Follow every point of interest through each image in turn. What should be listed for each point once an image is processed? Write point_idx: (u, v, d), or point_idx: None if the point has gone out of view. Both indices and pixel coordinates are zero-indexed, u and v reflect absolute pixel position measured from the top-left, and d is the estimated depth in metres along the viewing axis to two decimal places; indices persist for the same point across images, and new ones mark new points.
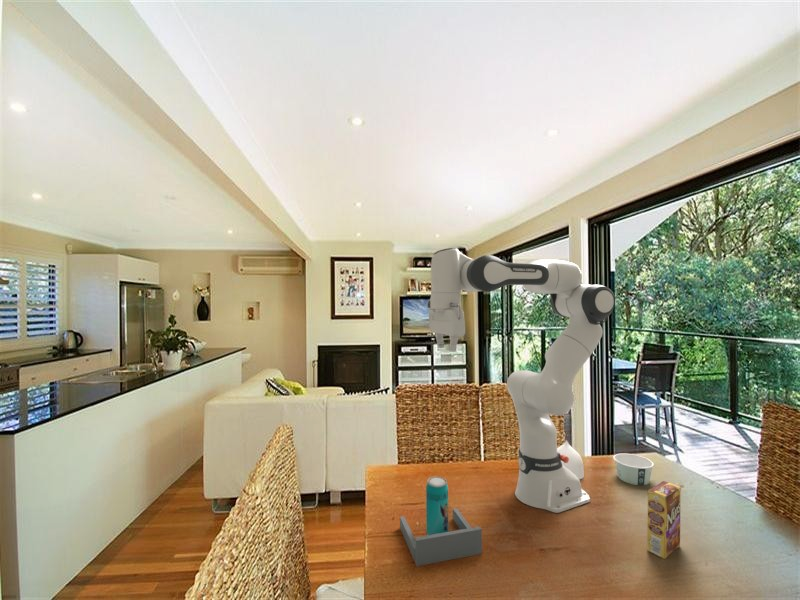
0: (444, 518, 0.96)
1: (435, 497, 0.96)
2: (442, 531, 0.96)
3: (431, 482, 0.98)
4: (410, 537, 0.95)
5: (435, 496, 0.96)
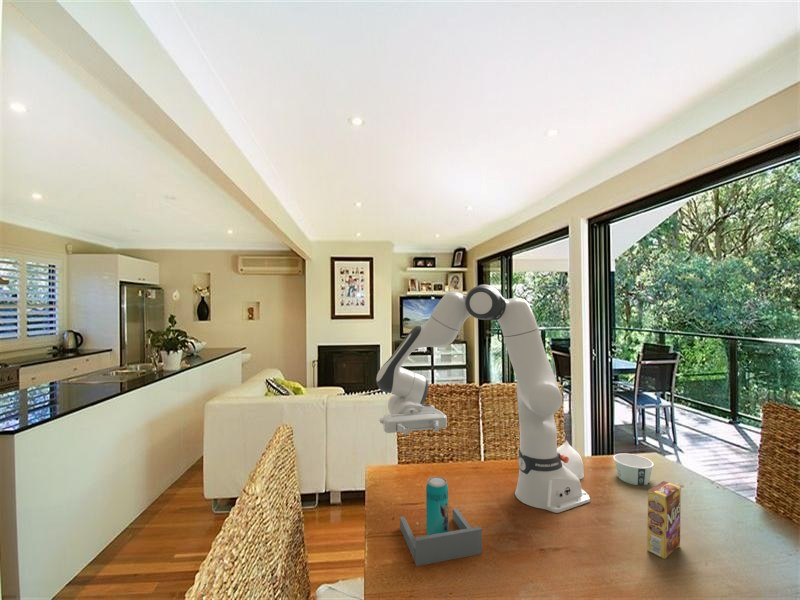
0: (444, 518, 0.96)
1: (435, 497, 0.96)
2: (442, 531, 0.96)
3: (431, 482, 0.98)
4: (410, 537, 0.95)
5: (435, 496, 0.96)
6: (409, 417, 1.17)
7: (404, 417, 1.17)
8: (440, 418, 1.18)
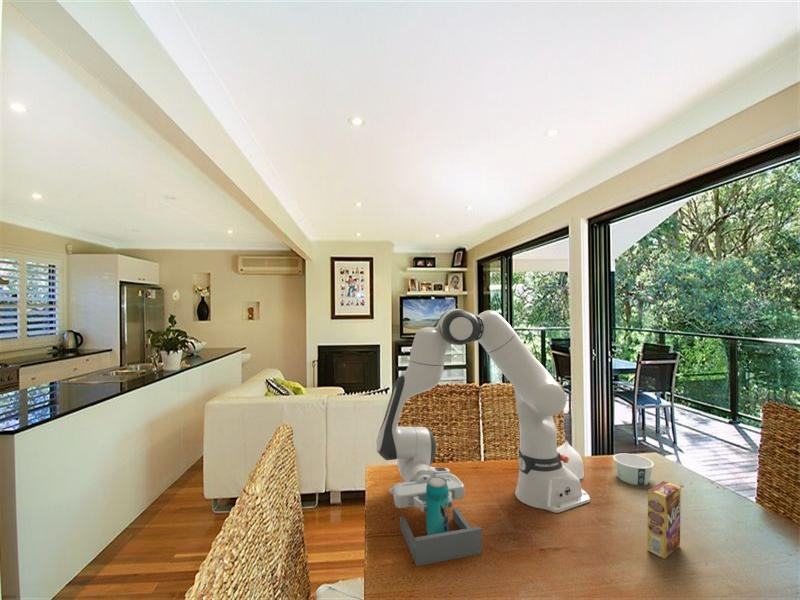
0: (444, 518, 0.96)
1: (435, 497, 0.96)
2: (442, 531, 0.96)
3: (431, 482, 0.98)
4: (410, 537, 0.95)
5: (435, 496, 0.96)
6: (422, 487, 1.05)
7: (417, 487, 1.05)
8: (457, 488, 1.05)
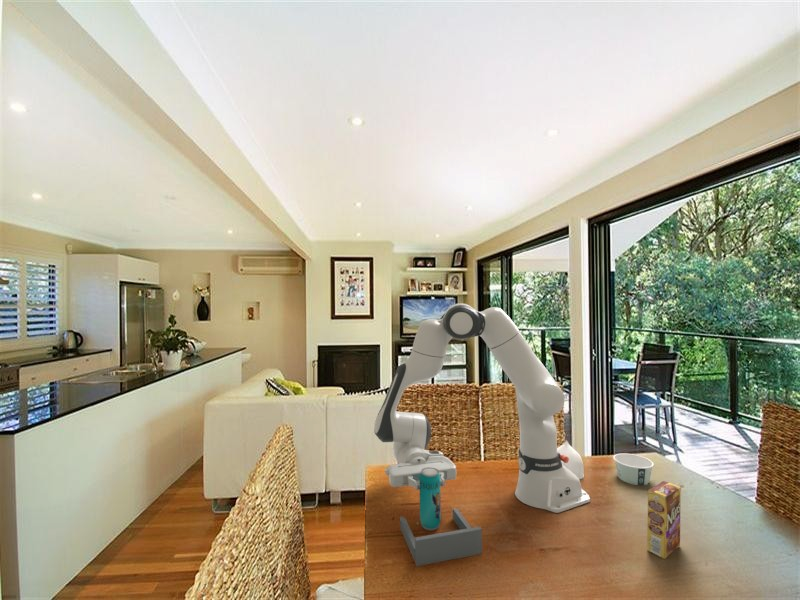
0: (435, 506, 1.02)
1: (427, 486, 1.02)
2: (434, 519, 1.01)
3: (424, 472, 1.04)
4: (410, 537, 0.95)
5: (427, 485, 1.02)
6: (416, 468, 1.10)
7: (411, 468, 1.10)
8: (449, 469, 1.11)
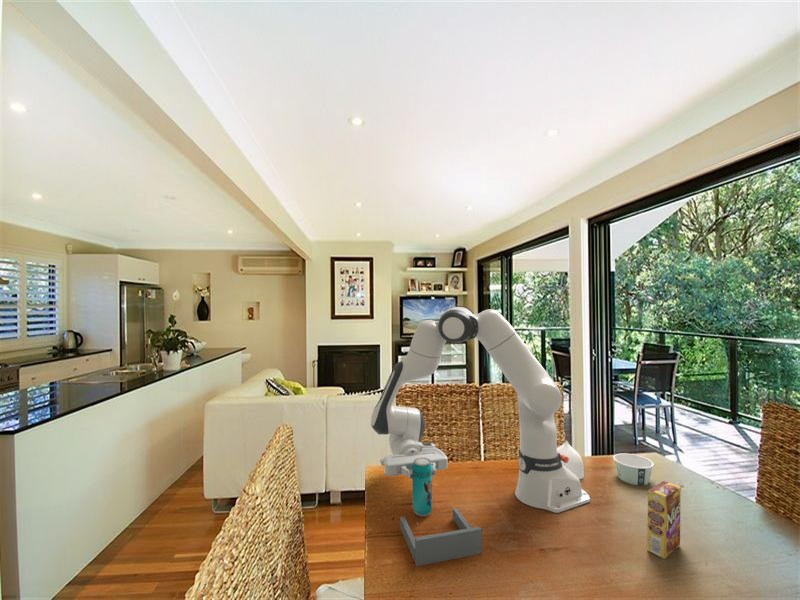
0: (427, 493, 1.08)
1: (419, 475, 1.08)
2: (425, 505, 1.08)
3: (416, 461, 1.11)
4: (410, 537, 0.95)
5: (419, 473, 1.08)
6: (410, 459, 1.17)
7: (405, 459, 1.17)
8: (441, 459, 1.17)
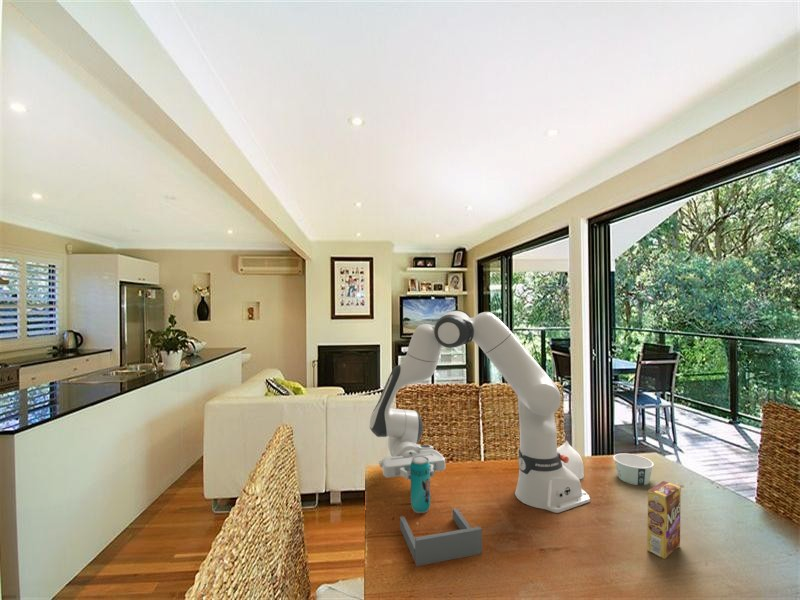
0: (425, 491, 1.10)
1: (417, 473, 1.10)
2: (423, 503, 1.10)
3: (415, 460, 1.12)
4: (410, 537, 0.95)
5: (417, 472, 1.10)
6: (408, 460, 1.19)
7: (403, 460, 1.19)
8: (439, 461, 1.19)
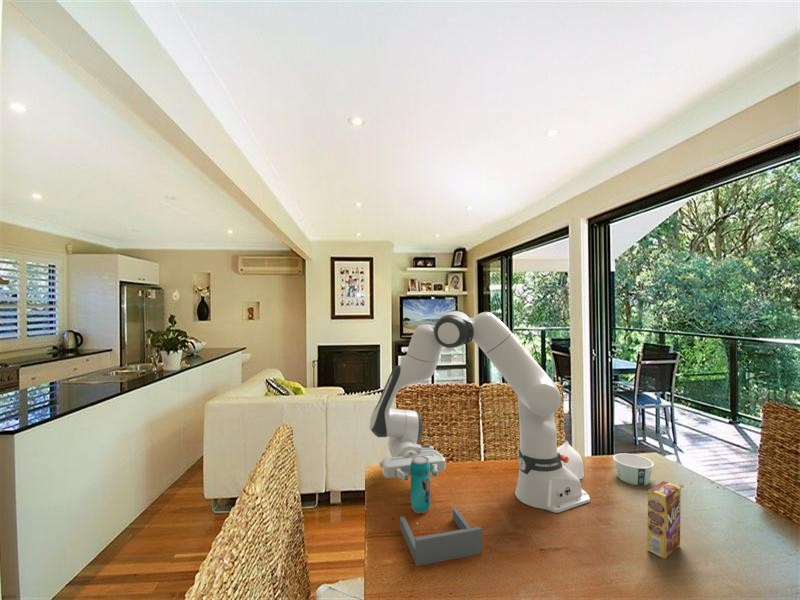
0: (425, 491, 1.10)
1: (417, 473, 1.10)
2: (423, 503, 1.10)
3: (415, 460, 1.12)
4: (410, 537, 0.95)
5: (417, 472, 1.10)
6: (408, 461, 1.19)
7: (403, 461, 1.19)
8: (439, 461, 1.19)
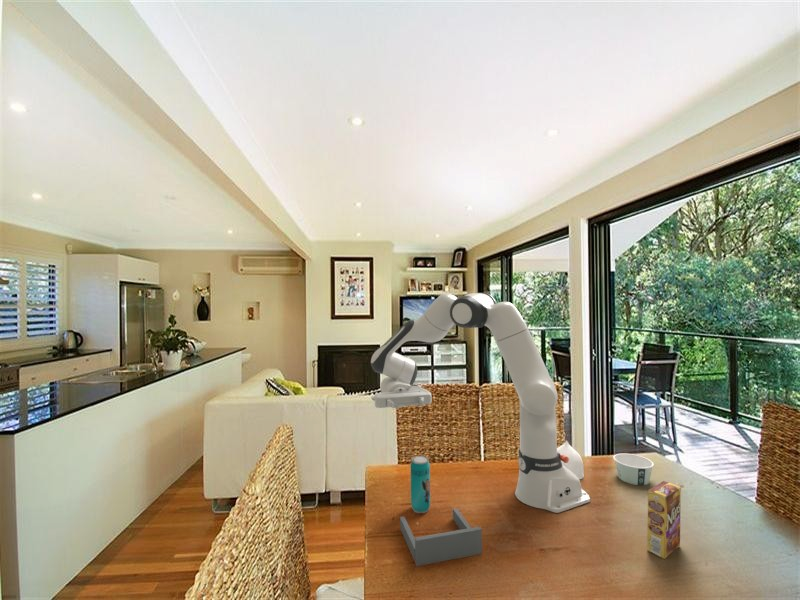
0: (425, 491, 1.10)
1: (417, 473, 1.10)
2: (423, 503, 1.10)
3: (415, 460, 1.12)
4: (410, 537, 0.95)
5: (417, 472, 1.10)
6: (398, 394, 1.32)
7: (393, 394, 1.32)
8: (425, 395, 1.32)
